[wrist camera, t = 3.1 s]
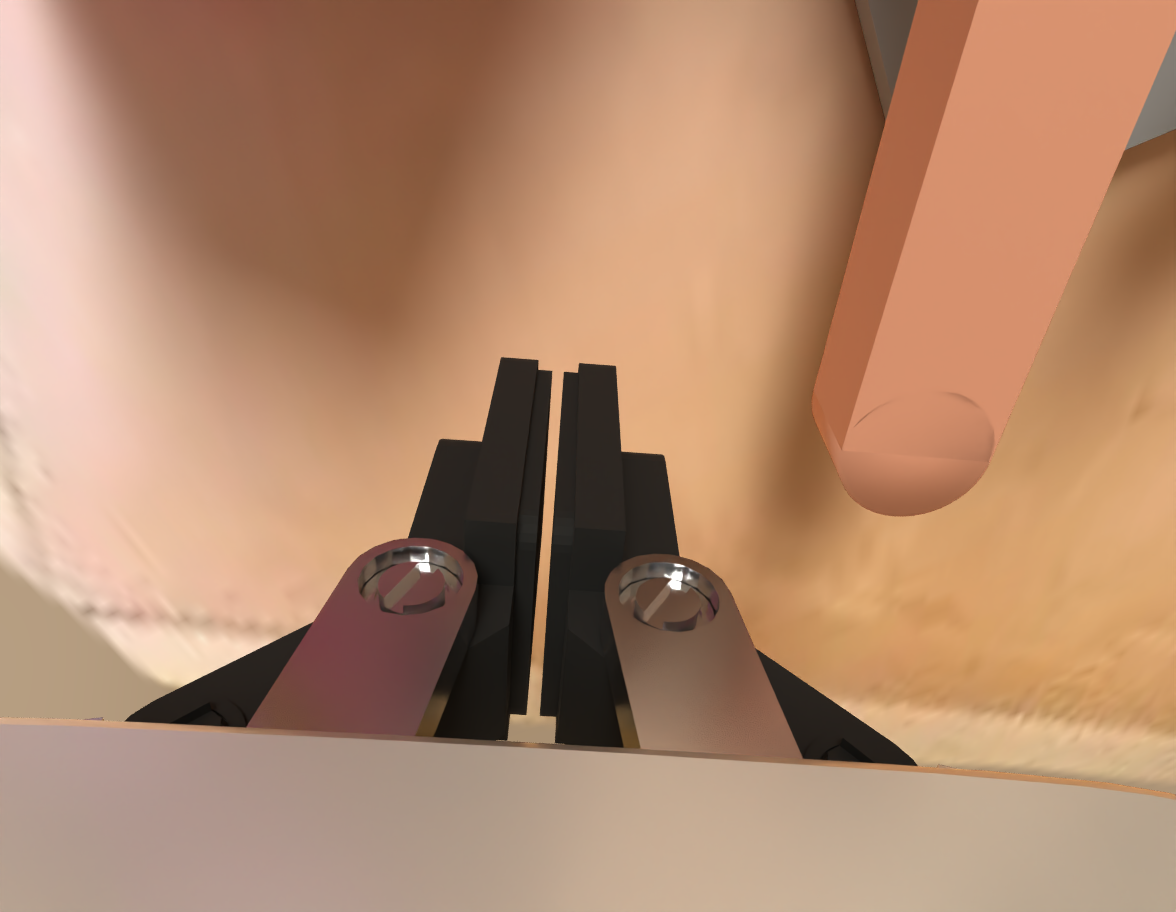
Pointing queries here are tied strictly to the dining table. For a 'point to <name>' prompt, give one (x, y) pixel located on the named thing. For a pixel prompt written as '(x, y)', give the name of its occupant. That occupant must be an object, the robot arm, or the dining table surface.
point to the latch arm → (974, 231)
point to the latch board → (886, 29)
